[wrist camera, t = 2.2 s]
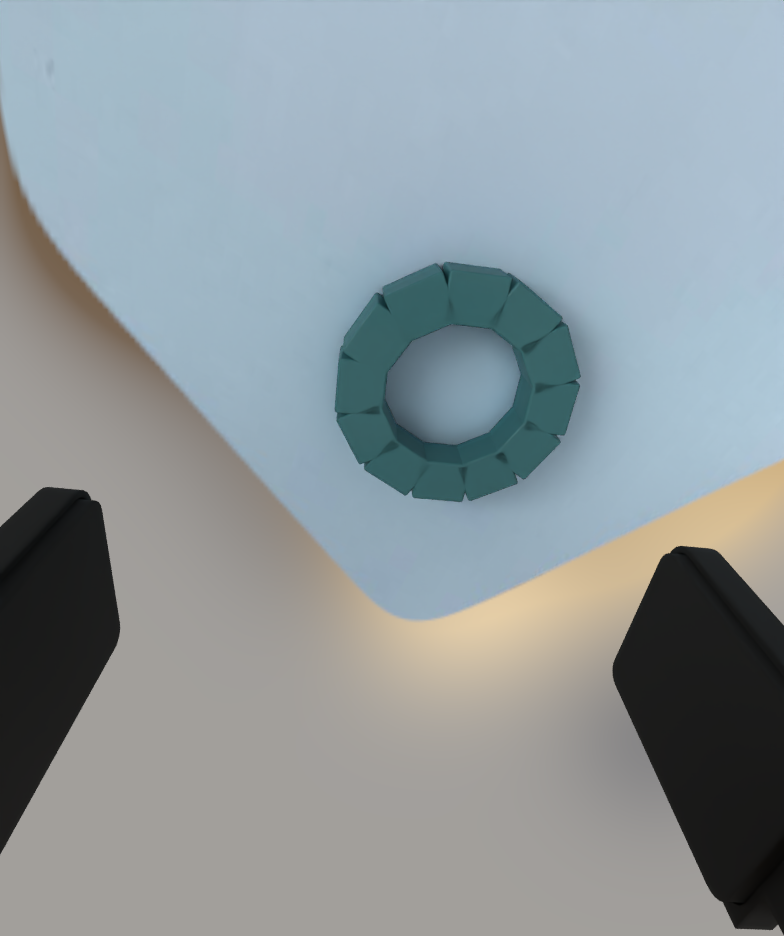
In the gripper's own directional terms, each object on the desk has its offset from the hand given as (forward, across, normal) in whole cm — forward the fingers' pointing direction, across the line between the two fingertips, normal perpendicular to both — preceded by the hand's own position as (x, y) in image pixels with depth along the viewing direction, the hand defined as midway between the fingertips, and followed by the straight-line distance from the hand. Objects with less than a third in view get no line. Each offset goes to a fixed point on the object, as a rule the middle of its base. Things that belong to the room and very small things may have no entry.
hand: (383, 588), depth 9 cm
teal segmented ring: (+11, -2, 0) cm, 11 cm away
